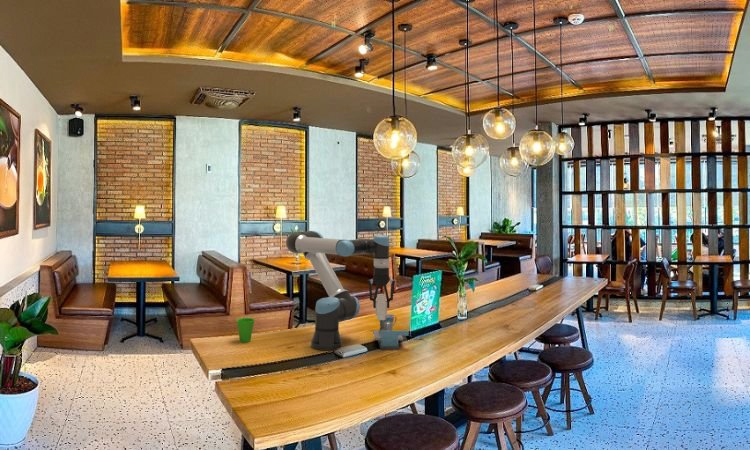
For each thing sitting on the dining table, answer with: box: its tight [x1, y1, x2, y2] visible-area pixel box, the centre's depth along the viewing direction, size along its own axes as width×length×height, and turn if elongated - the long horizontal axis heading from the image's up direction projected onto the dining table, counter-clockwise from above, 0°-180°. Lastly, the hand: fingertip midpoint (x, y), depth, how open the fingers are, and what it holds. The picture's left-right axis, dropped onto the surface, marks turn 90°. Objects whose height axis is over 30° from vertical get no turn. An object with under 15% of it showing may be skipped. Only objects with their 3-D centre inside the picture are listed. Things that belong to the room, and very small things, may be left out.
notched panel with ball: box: [372, 322, 410, 351], centre depth 240 cm, size 16×16×11 cm
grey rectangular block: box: [376, 293, 386, 321], centre depth 231 cm, size 4×4×12 cm
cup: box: [236, 317, 256, 344], centre depth 238 cm, size 9×9×11 cm
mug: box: [379, 313, 397, 330], centre depth 259 cm, size 12×9×11 cm
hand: (381, 314), depth 231 cm, fingers closed on grey rectangular block, 4 cm apart
